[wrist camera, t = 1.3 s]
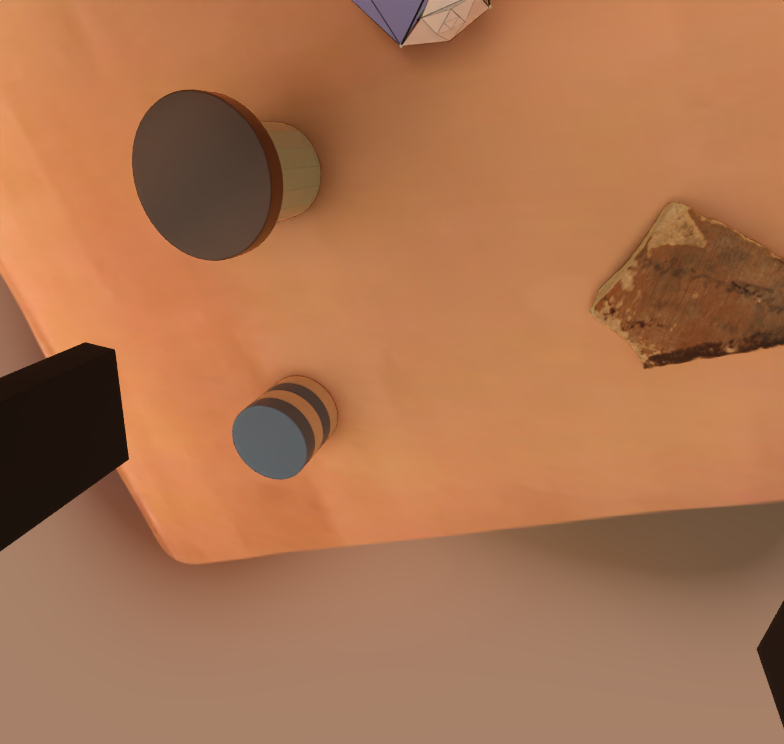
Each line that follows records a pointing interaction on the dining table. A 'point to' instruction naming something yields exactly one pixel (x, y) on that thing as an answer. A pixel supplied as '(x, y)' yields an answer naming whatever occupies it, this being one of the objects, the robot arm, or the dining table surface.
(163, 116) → the walnut chip
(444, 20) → the geometric puzzle
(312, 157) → the plastic cup
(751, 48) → the dining table surface
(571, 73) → the dining table surface
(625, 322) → the shard
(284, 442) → the chip stack
